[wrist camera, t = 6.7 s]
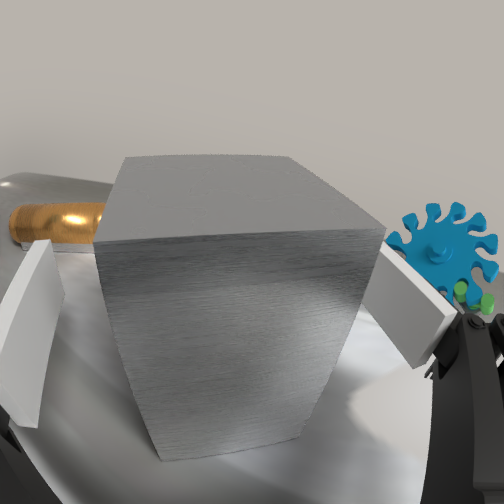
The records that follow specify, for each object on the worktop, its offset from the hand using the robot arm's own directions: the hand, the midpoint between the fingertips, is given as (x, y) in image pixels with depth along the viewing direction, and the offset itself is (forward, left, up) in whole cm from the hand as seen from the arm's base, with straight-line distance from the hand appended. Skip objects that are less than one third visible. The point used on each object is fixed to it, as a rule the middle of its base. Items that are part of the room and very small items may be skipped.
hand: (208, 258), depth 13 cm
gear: (+17, +4, -6) cm, 19 cm away
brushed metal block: (0, -3, -6) cm, 7 cm away
